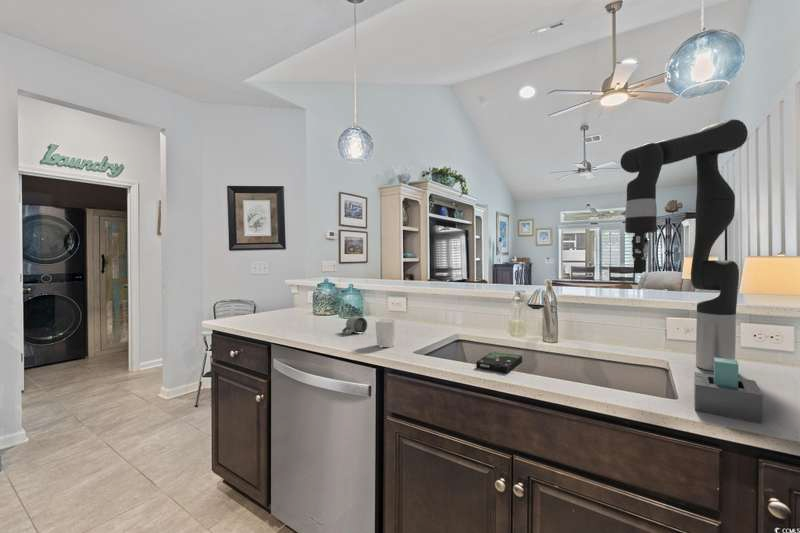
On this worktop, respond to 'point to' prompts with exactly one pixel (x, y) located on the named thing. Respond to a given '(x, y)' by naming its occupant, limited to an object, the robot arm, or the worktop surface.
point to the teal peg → (726, 372)
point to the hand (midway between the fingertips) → (639, 272)
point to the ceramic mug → (355, 325)
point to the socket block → (728, 398)
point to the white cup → (385, 332)
